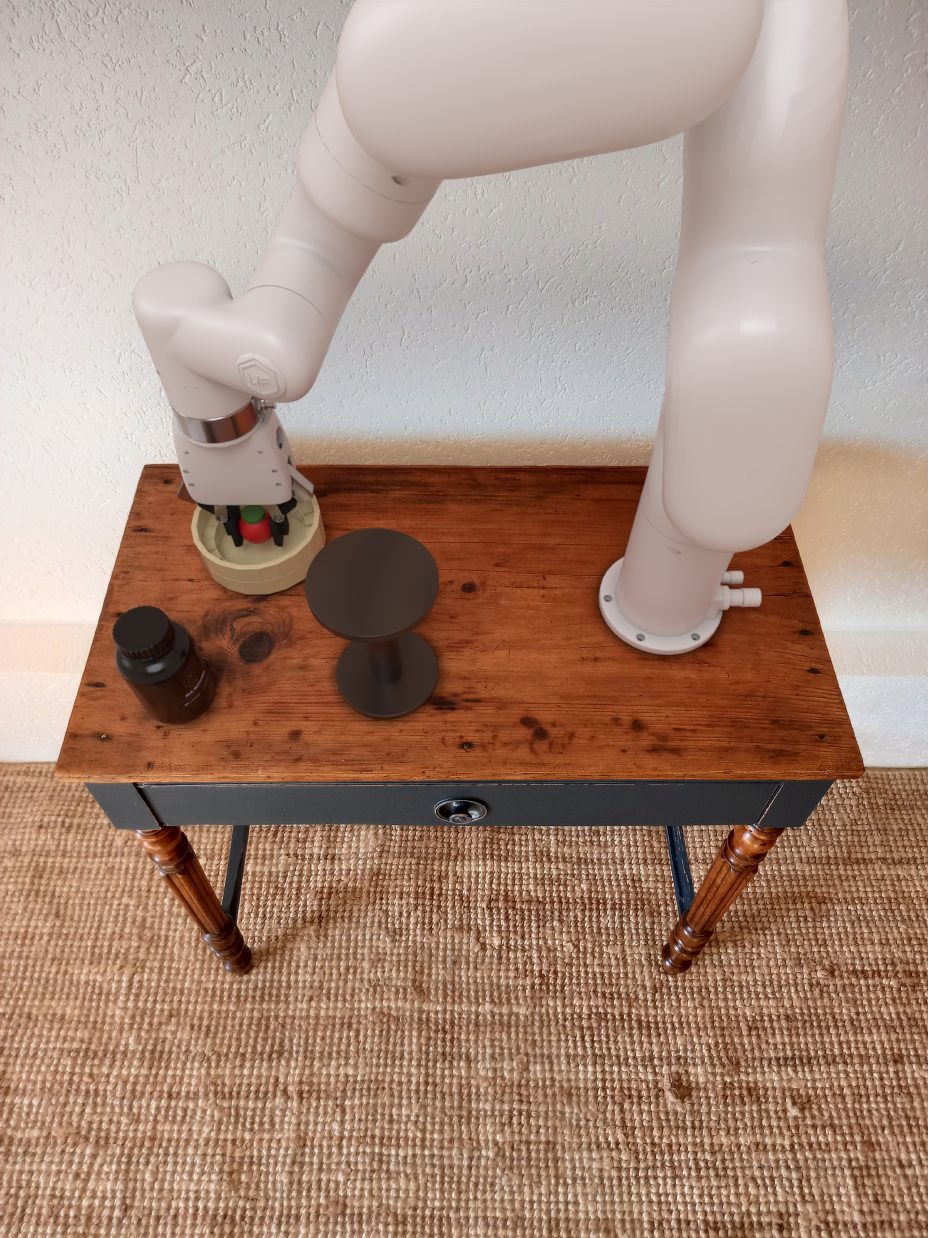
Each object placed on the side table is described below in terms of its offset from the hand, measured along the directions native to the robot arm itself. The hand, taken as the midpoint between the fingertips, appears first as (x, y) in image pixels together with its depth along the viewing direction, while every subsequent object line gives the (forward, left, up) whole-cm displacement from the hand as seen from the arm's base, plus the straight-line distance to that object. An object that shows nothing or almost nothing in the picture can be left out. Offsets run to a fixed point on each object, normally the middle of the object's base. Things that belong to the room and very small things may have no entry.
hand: (260, 535), depth 86 cm
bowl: (0, 0, -2) cm, 2 cm away
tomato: (0, 0, 0) cm, 0 cm away
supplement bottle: (+6, +18, -2) cm, 19 cm away
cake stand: (-14, +16, -2) cm, 21 cm away
